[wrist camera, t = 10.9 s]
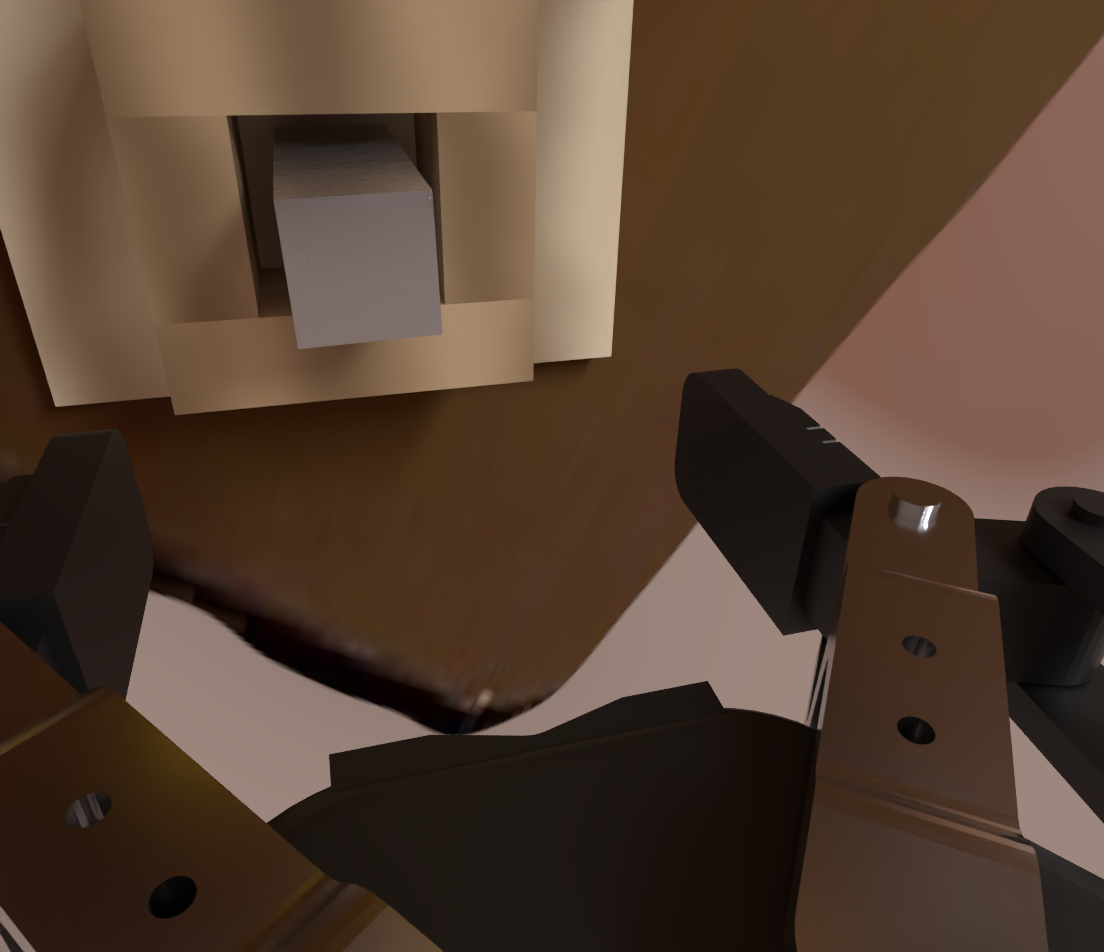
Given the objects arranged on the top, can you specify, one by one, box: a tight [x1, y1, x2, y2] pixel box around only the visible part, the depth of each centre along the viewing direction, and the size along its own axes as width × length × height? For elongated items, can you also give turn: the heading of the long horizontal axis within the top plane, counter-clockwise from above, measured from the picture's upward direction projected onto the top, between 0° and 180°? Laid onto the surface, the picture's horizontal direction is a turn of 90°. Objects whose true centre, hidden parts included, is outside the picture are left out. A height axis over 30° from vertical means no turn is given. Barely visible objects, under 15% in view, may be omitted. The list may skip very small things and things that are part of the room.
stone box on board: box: [0, 0, 634, 415], centre depth 26 cm, size 20×14×6 cm
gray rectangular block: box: [273, 123, 442, 349], centre depth 23 cm, size 3×3×10 cm
